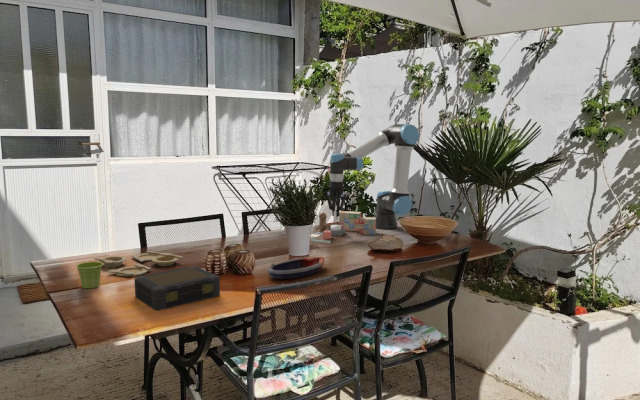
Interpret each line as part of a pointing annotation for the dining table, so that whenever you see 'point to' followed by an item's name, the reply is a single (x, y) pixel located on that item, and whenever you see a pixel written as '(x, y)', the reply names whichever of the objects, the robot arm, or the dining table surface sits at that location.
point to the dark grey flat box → (176, 287)
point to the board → (334, 233)
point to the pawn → (322, 222)
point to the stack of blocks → (357, 222)
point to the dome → (336, 227)
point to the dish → (296, 268)
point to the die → (327, 234)
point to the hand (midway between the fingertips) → (335, 221)
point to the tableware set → (138, 268)
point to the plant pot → (90, 274)
